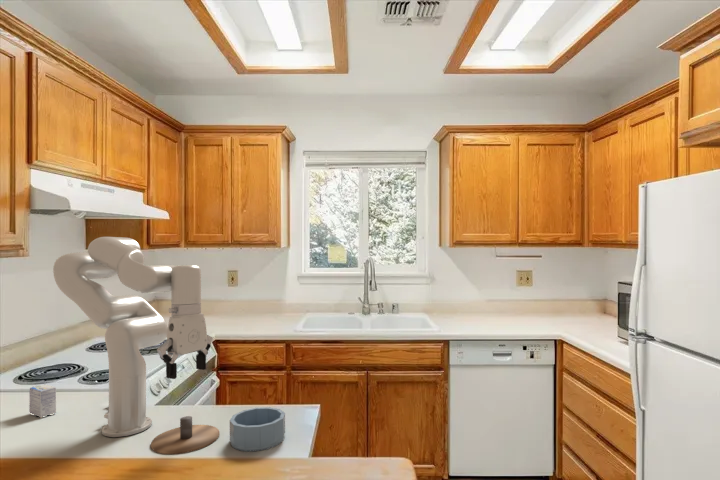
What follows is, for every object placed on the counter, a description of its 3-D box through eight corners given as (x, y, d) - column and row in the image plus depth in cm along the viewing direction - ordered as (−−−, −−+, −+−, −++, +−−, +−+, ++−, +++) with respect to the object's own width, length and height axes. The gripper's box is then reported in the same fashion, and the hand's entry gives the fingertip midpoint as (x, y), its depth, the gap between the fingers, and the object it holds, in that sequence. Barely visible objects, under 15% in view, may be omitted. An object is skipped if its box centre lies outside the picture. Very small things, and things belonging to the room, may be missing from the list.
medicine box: (56, 414, 133) (56, 386, 134) (40, 419, 129) (40, 390, 130) (44, 410, 137) (45, 383, 138) (28, 414, 133) (29, 387, 134)
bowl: (219, 445, 108) (218, 421, 108) (255, 425, 120) (255, 404, 121) (261, 455, 101) (260, 430, 102) (295, 433, 114) (294, 411, 114)
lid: (136, 448, 108) (136, 424, 108) (189, 424, 123) (189, 404, 124) (181, 461, 100) (181, 435, 101) (232, 434, 116) (232, 412, 116)
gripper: (168, 314, 104) (168, 383, 103) (220, 307, 120) (221, 367, 119) (148, 313, 108) (148, 380, 107) (201, 306, 123) (202, 365, 122)
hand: (186, 373), depth 113 cm, fingers open, 9 cm apart
